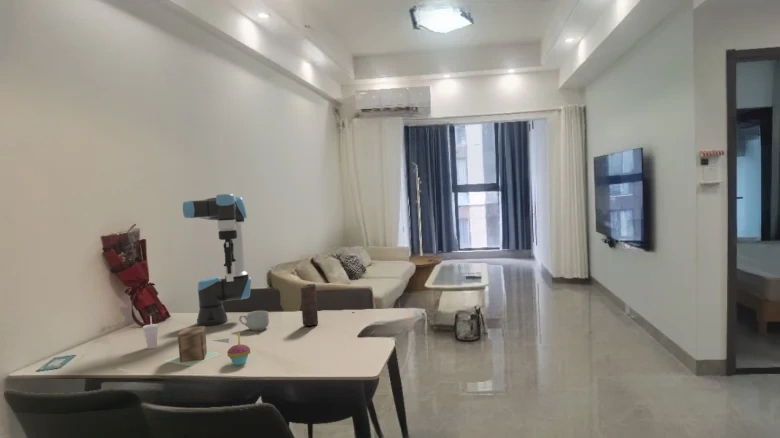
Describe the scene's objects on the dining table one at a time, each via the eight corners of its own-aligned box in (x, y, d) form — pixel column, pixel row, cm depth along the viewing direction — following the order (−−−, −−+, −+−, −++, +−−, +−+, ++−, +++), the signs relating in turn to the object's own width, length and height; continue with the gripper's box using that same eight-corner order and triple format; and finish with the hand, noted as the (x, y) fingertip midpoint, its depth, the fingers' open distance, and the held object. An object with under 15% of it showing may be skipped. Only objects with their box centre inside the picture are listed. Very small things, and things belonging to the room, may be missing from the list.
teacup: (272, 326, 255) (271, 310, 254) (265, 332, 244) (264, 315, 243) (245, 327, 256) (244, 311, 256) (236, 333, 245) (235, 316, 245)
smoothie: (163, 345, 231) (160, 314, 230) (152, 349, 225) (149, 318, 224) (152, 345, 233) (149, 314, 232) (140, 349, 227) (138, 317, 226)
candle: (316, 327, 247) (314, 285, 246) (301, 328, 248) (298, 286, 247) (319, 323, 255) (316, 282, 254) (304, 324, 255) (301, 283, 254)
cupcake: (231, 360, 203) (228, 330, 202) (253, 358, 203) (250, 328, 203) (225, 368, 194) (223, 336, 193) (248, 366, 195) (246, 334, 194)
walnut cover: (180, 362, 202) (177, 334, 202) (183, 355, 212) (181, 328, 211) (204, 359, 204) (202, 331, 204) (207, 352, 214) (204, 325, 213)
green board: (163, 362, 205) (163, 361, 205) (197, 350, 219) (197, 349, 219) (189, 367, 197) (189, 365, 197) (223, 355, 211) (223, 353, 211)
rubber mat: (188, 351, 219) (188, 350, 219) (191, 343, 231) (191, 342, 231) (227, 346, 223) (227, 345, 223) (229, 339, 235) (229, 338, 235)
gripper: (235, 230, 212) (238, 282, 213) (237, 227, 236) (241, 274, 237) (215, 232, 210) (219, 284, 211) (220, 229, 234) (224, 275, 235)
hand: (231, 279), depth 224 cm, fingers open, 13 cm apart
